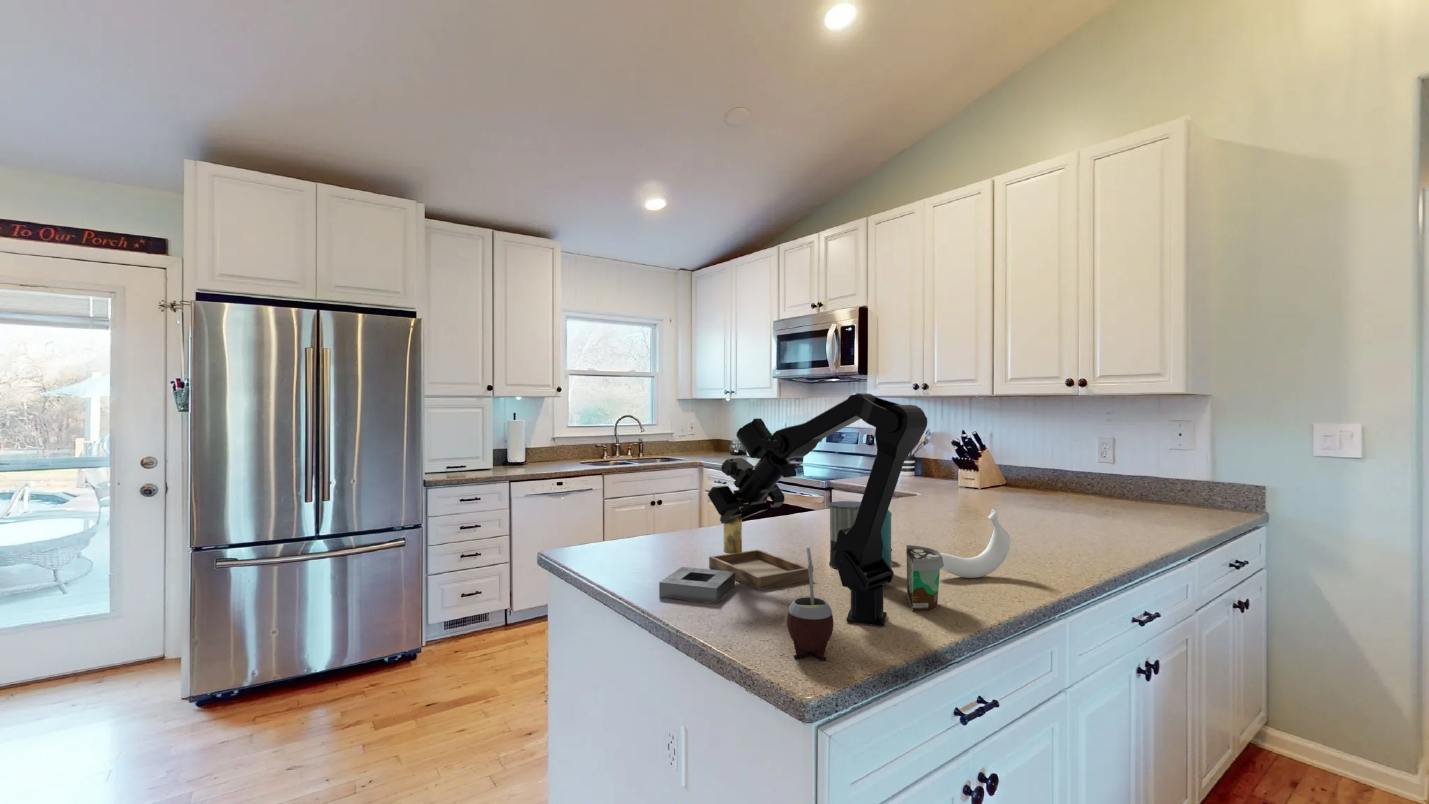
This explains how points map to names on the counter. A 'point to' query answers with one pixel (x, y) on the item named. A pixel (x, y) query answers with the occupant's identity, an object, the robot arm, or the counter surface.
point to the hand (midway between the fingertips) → (728, 520)
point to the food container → (923, 577)
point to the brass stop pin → (733, 535)
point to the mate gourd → (810, 623)
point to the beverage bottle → (886, 539)
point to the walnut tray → (760, 569)
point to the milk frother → (841, 521)
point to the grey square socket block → (697, 585)
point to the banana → (981, 555)
